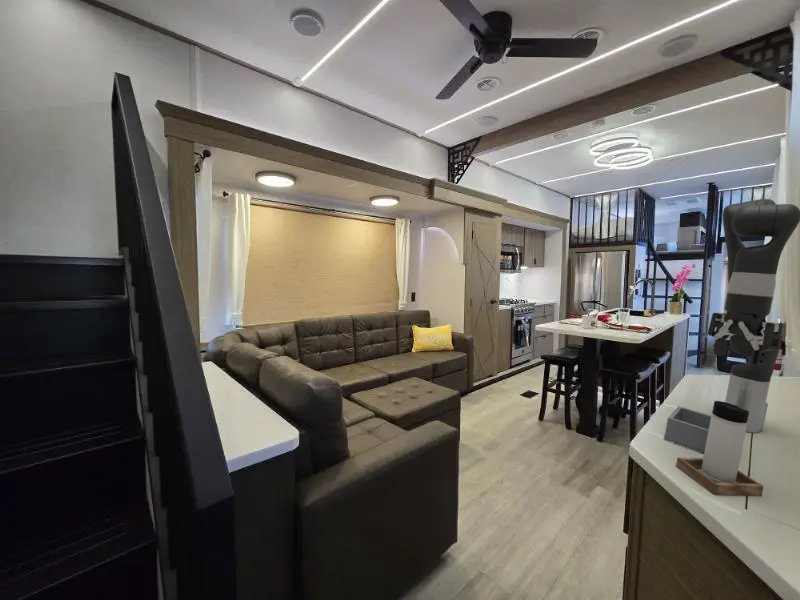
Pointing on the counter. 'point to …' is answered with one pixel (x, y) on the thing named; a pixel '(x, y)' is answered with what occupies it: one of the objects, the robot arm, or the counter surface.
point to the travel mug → (724, 442)
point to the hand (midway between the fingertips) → (736, 360)
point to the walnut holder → (743, 486)
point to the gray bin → (688, 428)
